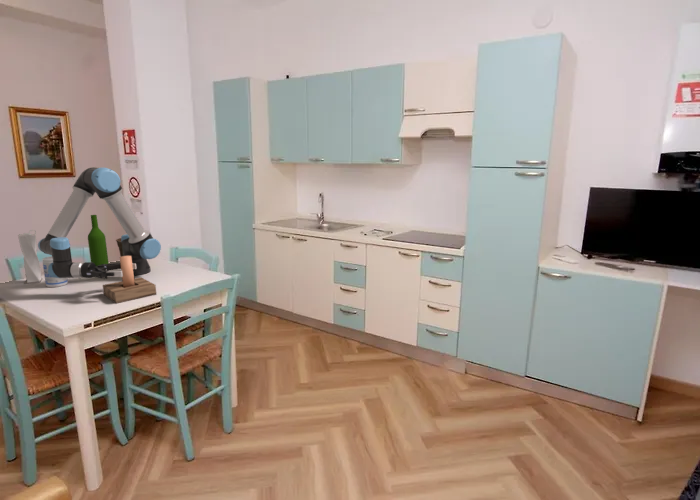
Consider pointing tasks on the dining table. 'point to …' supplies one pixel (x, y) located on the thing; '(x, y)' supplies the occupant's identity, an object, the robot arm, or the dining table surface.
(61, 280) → the supplement tub
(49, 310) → the dining table surface
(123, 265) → the peg
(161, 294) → the dining table surface
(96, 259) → the wine bottle
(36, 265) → the skyscraper
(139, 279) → the socket block
